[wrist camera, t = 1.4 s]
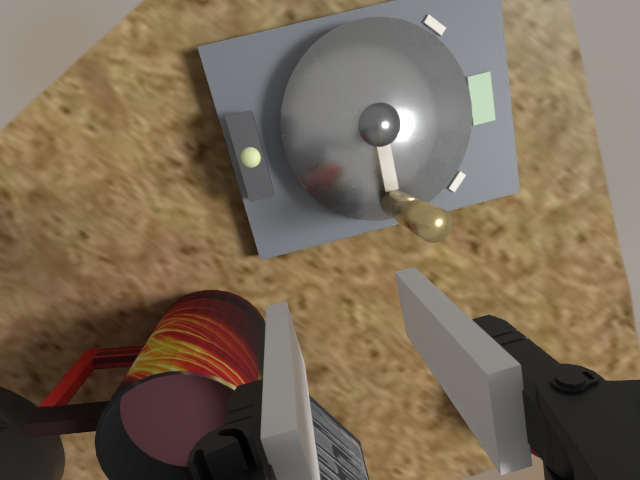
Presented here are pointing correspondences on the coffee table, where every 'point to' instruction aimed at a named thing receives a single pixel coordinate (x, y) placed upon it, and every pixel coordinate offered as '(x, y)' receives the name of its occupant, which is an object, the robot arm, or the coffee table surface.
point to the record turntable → (267, 97)
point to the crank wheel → (378, 123)
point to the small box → (336, 448)
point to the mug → (162, 388)
